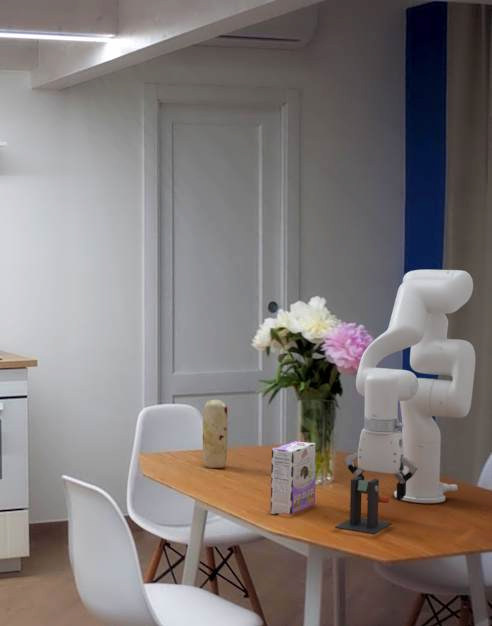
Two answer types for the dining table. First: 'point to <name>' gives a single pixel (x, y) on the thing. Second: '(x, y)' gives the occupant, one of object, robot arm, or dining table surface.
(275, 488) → the candy box
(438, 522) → the dining table surface
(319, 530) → the dining table surface
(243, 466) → the dining table surface
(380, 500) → the switch lever
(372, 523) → the two-post lever stand
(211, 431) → the food model
